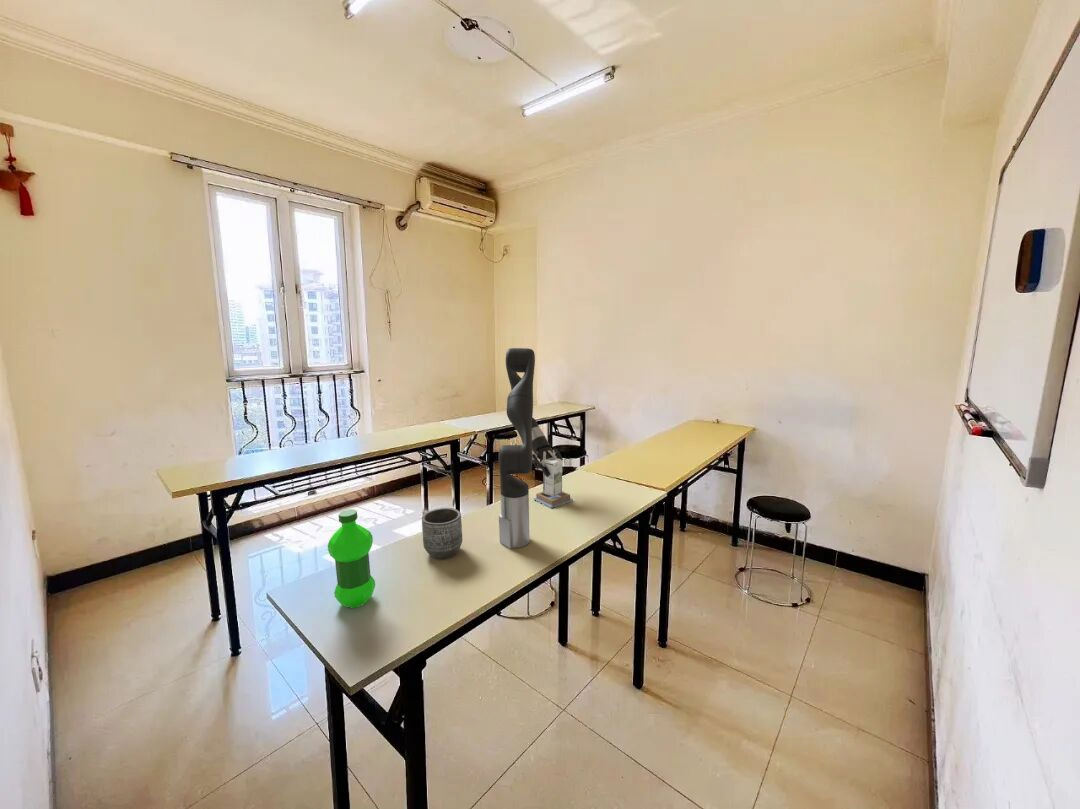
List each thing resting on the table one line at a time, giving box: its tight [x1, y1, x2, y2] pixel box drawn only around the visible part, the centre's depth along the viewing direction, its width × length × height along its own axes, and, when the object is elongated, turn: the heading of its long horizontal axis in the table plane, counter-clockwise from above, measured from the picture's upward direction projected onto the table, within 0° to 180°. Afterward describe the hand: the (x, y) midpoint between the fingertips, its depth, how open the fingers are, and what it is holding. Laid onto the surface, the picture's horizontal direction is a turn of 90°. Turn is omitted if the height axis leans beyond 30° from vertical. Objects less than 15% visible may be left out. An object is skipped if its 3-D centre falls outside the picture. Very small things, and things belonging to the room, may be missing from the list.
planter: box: [421, 507, 463, 561], centre depth 135 cm, size 12×12×13 cm
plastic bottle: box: [327, 508, 376, 609], centre depth 110 cm, size 10×10×25 cm
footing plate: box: [533, 490, 574, 509], centre depth 176 cm, size 12×11×3 cm
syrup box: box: [542, 457, 563, 497], centre depth 174 cm, size 6×6×14 cm
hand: (555, 473), depth 173 cm, fingers closed on syrup box, 6 cm apart
